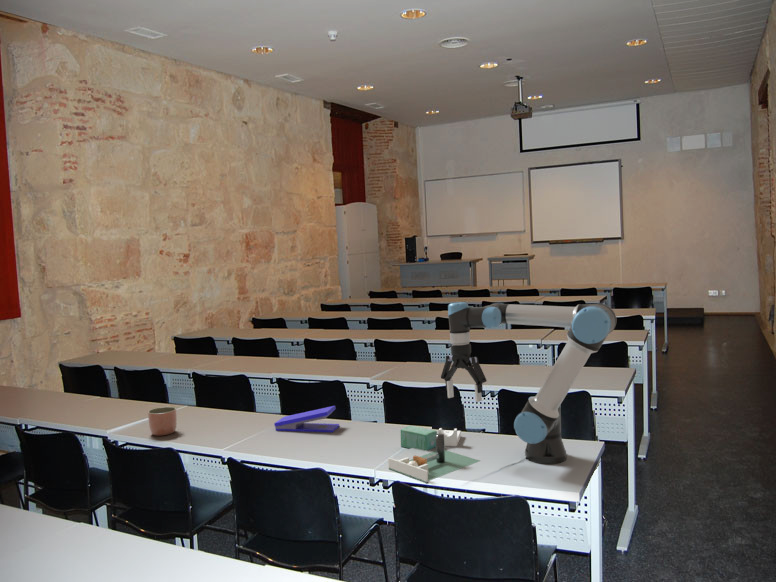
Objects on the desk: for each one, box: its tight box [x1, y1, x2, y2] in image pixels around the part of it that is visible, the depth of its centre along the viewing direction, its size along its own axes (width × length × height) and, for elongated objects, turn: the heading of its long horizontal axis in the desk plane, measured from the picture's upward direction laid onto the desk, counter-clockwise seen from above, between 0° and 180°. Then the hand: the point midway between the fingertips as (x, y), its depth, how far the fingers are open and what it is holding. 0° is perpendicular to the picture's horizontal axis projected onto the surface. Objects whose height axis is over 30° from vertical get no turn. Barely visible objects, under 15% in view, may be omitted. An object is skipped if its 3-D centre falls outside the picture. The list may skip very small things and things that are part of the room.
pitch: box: [387, 449, 481, 484], centre depth 232 cm, size 20×28×4 cm
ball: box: [408, 461, 418, 467], centre depth 225 cm, size 4×4×4 cm
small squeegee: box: [412, 433, 446, 466], centre depth 231 cm, size 6×13×10 cm, turn 131°
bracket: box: [438, 427, 462, 447], centre depth 258 cm, size 13×7×8 cm, turn 166°
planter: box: [147, 406, 178, 437], centre depth 290 cm, size 12×12×11 cm
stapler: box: [274, 405, 340, 433], centre depth 288 cm, size 12×28×10 cm, turn 77°
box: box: [400, 425, 438, 451], centre depth 254 cm, size 7×14×8 cm, turn 51°
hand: (464, 399), depth 237 cm, fingers open, 13 cm apart
